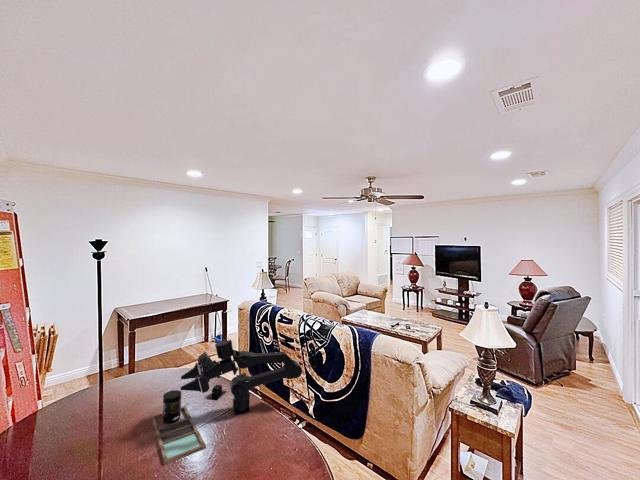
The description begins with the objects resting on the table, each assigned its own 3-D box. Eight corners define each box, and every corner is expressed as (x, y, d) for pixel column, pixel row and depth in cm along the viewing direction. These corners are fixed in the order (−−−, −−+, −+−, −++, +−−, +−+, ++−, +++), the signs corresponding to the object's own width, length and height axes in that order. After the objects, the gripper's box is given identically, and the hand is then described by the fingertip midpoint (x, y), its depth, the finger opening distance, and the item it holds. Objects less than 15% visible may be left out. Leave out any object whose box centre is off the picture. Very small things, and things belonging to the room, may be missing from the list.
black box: (216, 403, 129) (216, 393, 129) (202, 402, 131) (202, 392, 131) (230, 390, 141) (230, 381, 142) (216, 389, 143) (217, 379, 143)
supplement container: (172, 413, 120) (173, 388, 121) (184, 417, 118) (185, 392, 118) (158, 422, 114) (159, 396, 114) (170, 426, 111) (171, 399, 112)
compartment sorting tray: (151, 418, 116) (151, 416, 116) (185, 408, 124) (185, 406, 124) (164, 465, 92) (164, 461, 92) (205, 448, 100) (206, 445, 100)
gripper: (214, 342, 129) (176, 355, 122) (218, 359, 112) (175, 375, 105) (219, 365, 130) (182, 379, 123) (224, 384, 113) (182, 402, 106)
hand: (180, 383), depth 114 cm, fingers open, 9 cm apart
